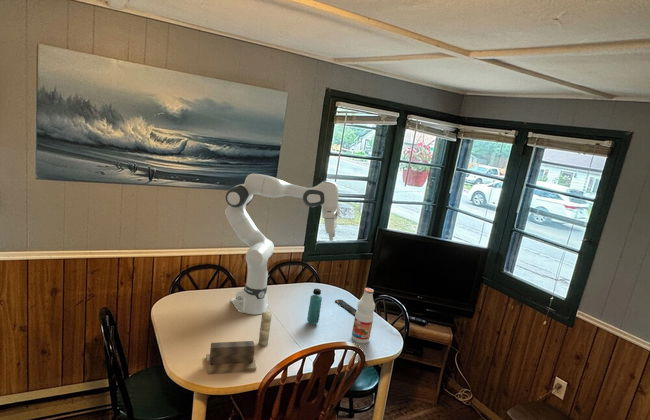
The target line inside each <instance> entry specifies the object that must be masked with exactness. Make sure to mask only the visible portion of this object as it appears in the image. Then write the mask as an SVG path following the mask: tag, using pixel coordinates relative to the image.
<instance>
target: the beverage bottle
mask: <svg viewBox="0 0 650 420" xmlns="http://www.w3.org/2000/svg"><path fill="white" fill-rule="evenodd" d="M312 293H313V294H311V295H310V297H309V298H310V300H309V305H308V312H307V318H306V320H307V323H308V324H312V325H317V324H318V323H319V321H320V315H321V314H320V313H321V307H322V300H323V297H322V296H321V294H322V291H321V289H320V288H314V289H313V291H312Z"/></svg>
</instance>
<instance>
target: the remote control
mask: <svg viewBox="0 0 650 420" xmlns="http://www.w3.org/2000/svg"><path fill="white" fill-rule="evenodd" d="M334 303H336V304H338V305H339V306H340V307H341V308H343V309H344V310H346V311H347V312H349V313H350V314H351V315H353V317H355V314H356V311H357V308H355V307H353V306H352V305H350V304H349V303H347V302H346V301H345V300H343V299H335V300H334Z"/></svg>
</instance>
